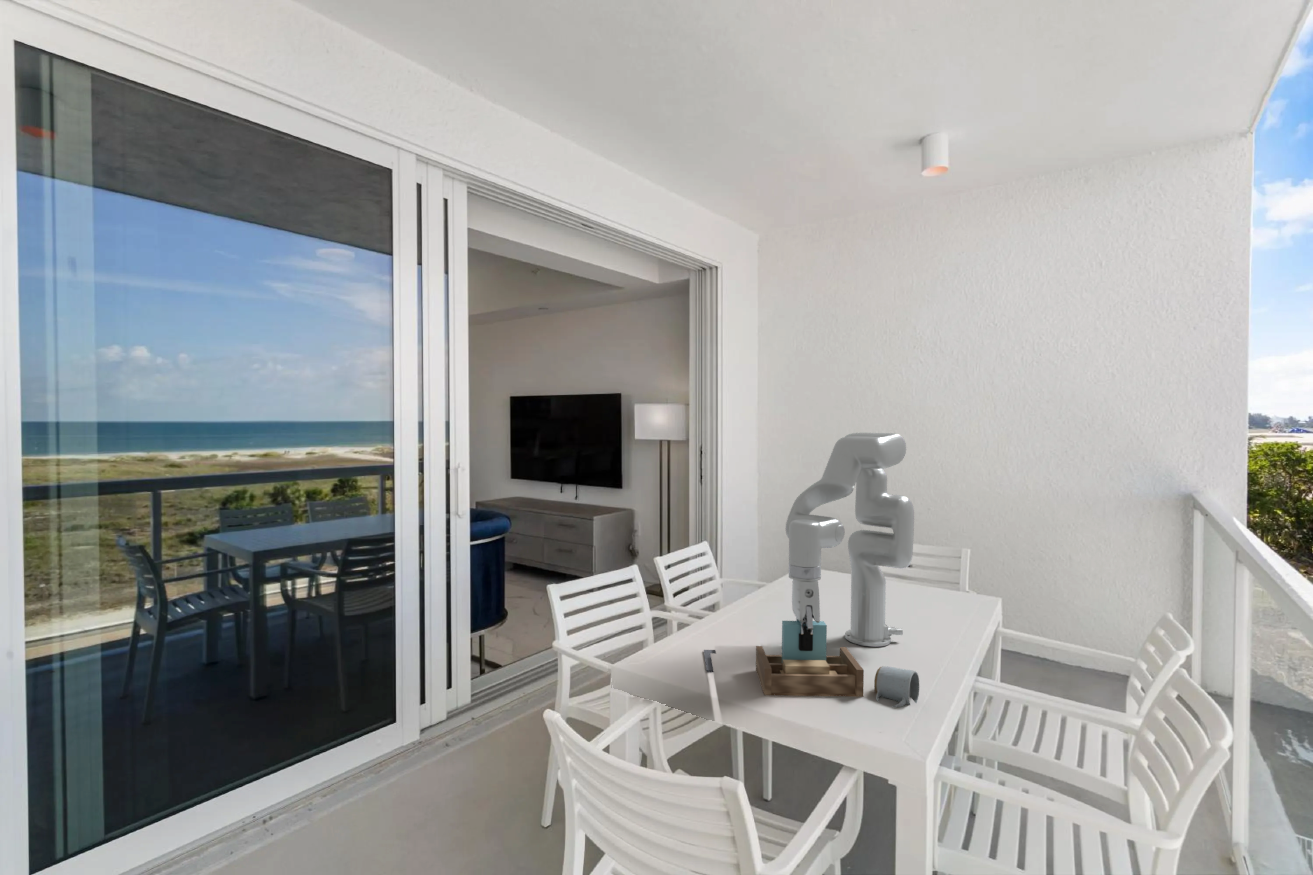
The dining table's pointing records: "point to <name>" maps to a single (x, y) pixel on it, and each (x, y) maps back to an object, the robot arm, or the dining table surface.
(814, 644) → the teal rectangular block
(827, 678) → the walnut rack
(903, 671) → the ceramic mug
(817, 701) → the dining table surface
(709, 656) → the gray l-shaped bracket
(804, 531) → the robot arm
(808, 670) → the oak offcuts
